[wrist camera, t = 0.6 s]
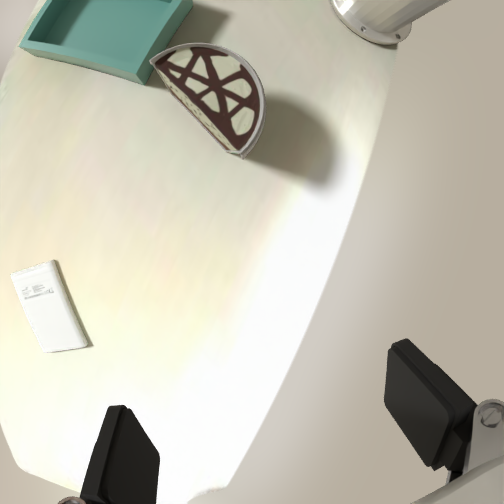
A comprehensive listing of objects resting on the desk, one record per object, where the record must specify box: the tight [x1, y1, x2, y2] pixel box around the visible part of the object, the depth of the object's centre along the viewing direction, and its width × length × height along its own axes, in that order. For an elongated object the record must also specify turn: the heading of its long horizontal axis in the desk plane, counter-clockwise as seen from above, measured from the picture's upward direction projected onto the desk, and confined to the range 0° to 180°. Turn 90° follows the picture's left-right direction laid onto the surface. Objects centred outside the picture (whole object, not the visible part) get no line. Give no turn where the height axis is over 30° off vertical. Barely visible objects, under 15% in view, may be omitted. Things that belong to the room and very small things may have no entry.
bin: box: [19, 0, 193, 85], centre depth 24 cm, size 12×18×4 cm, turn 65°
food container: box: [149, 43, 266, 159], centre depth 26 cm, size 12×6×10 cm, turn 42°
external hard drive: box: [10, 260, 88, 353], centre depth 34 cm, size 2×8×12 cm
